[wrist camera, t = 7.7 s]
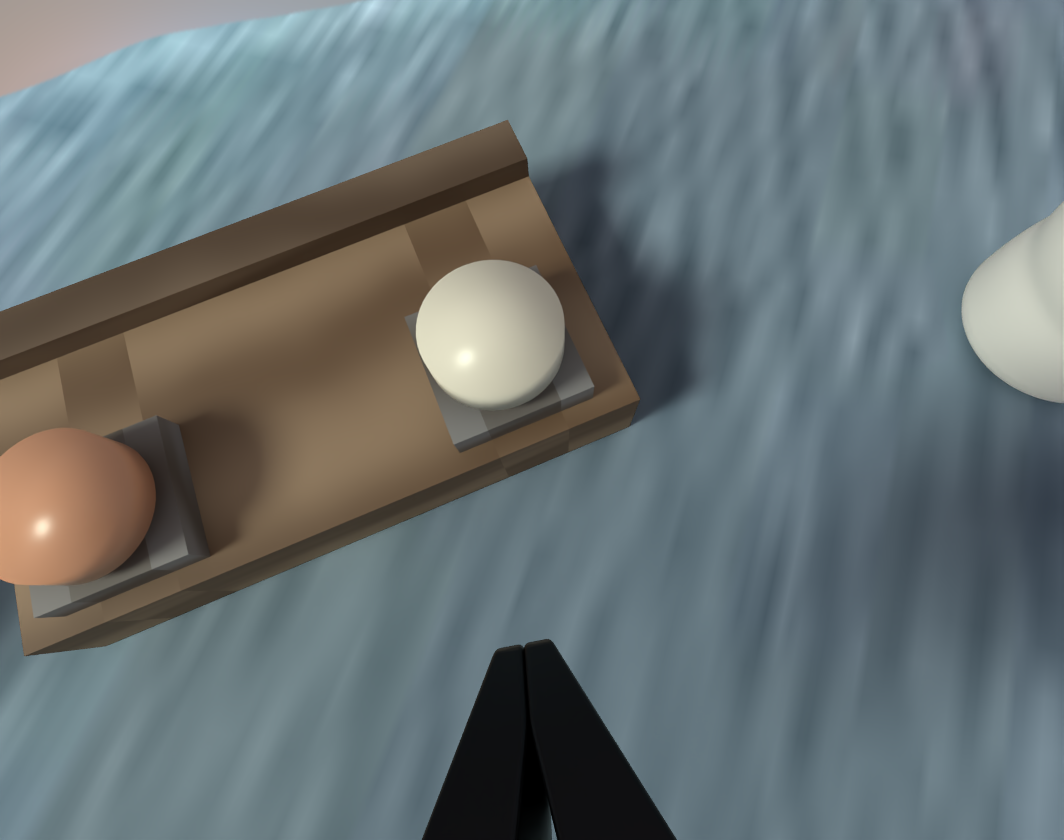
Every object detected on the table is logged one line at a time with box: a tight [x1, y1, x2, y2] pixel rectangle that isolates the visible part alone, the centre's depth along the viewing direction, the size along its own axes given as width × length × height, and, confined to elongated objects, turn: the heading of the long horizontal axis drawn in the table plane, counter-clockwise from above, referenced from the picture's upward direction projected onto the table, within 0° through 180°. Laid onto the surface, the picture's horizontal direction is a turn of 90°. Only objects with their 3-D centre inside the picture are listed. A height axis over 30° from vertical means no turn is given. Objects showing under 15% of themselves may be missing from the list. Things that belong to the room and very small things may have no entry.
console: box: [0, 120, 640, 656], centre depth 22 cm, size 12×22×5 cm, turn 113°
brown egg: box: [0, 428, 156, 586], centre depth 20 cm, size 5×5×6 cm
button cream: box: [416, 260, 565, 411], centre depth 21 cm, size 5×5×6 cm
